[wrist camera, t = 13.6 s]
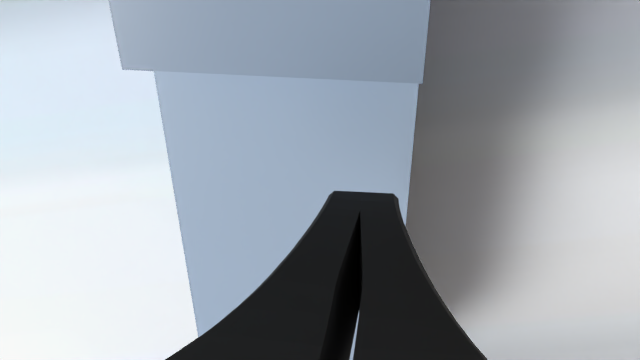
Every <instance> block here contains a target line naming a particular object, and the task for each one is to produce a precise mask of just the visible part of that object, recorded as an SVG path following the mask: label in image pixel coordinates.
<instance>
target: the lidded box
mask: <svg viewBox="0 0 640 360" xmlns="http://www.w3.org/2000/svg"><path fill="white" fill-rule="evenodd" d="M430 1H431V0H109V5H110V10H111V15H112V20H113V26H114V31H115V36H116V41H117V46H118V51H119V56H120V61H121V66H122V70H142V71H154V75H155V81H156V87H157V93H158V99H159V105H160V111H161V117H162V123H163V129H164V135H165V141H166V147H167V153H168V159H169V165H170V171H171V176H172V182H173V188H174V194H175V200H176V206H177V212H178V218H179V224H180V230H181V236H182V242H183V248H184V254H185V260H186V266H187V272H188V278H189V284H190V290H191V296H192V302H193V308H194V313H195V319H196V325H197V331H198V337H200V336H201V335H203V334H204V333H205V332H207V331H208V330H209V329H211V328H212V327H213V326H215V325H216V324H217V323H218V322H220V321H221V320H222V319H223V318H224V317H226V316H227V315H228V314H229V313H230V312H232V311H233V310H234V309H235V308H236V307H238V306H239V305H240V304H241V303H242V302H243V301H244V300H245V299H246V298H247V297H248V296H250V295H251V294H252V293H253V292H254V291H255V290H256V289H257V288H258V287H259V286H260V285H261V284H262V283H263V282H264V281H265V280H266V279H267V278H268V277H269V276H270V274H271V273H272V272H273V271H274V270H275V269H276V268H277V266H278V265H279V264H280V263H281V262H282V261H283V260H284V258H285V257H286V256H287V255H288V254H289V253H290V251H291V250H292V249H293V248H294V246H295V245H296V244H297V243H298V241H299V240H300V239H301V237H302V236H303V235H304V233H305V232H306V231H307V229H308V228H309V227H310V225H311V224H312V222H313V221H314V219H315V218H316V216H317V215H318V213H319V212H320V210H321V208H322V207H323V205H324V203H325V202H326V200H327V198H328V196H329V195H330V194H331V193H332V192H333V191H353V192H374V193H393V194H394V195H395V196H396V197H397V198H398V200H399V207H400V211H401V215H402V218H403V222H404V224H405V227H406V217H407V207H408V196H409V185H410V174H411V163H412V153H413V142H414V131H415V120H416V109H417V98H418V88H419V84H423V74H424V64H425V54H426V43H427V33H428V22H429V12H430ZM358 319H359V313H358V318H357V323H356V328H355V334H354V339H353V344H352V349H351V354H350V359H349V360H353V356H354V349H355V341H356V334H357V326H358Z"/></svg>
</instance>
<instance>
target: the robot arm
mask: <svg viewBox="0 0 640 360" xmlns="http://www.w3.org/2000/svg"><path fill="white" fill-rule="evenodd" d="M358 313H359V319H358V326H357V334H356V341H355V349H354V356H353V360H487V358H486V357H485V356H484V355H483V354H482V353H481V352H480V350H479V349H478V348H477V347H476V346H475V345H474V344H473V342H472V341H471V340H470V338H469V337H468V336H467V335H466V333H465V332H464V331H463V329H462V328H461V327H460V325H459V324H458V323H457V321H456V320H455V318H454V317H453V315H452V314H451V313H450V311H449V310H448V308H447V307H446V305H445V304H444V302H443V301H442V299H441V297H440V296H439V294H438V293H437V291H436V289H435V288H434V286H433V284H432V282H431V281H430V279H429V277H428V275H427V273H426V272H425V270H424V268H423V266H422V264H421V262H420V260H419V258H418V255H417V253H416V251H415V249H414V247H413V245H412V243H411V240H410V238H409V235H408V233H407V230H406V227H405V224H404V222H403V218H402V215H401V211H400V207H399V200H398V198H397V197H396V196H395V195H394V194H393V193H374V192H353V191H333V192H332V193H331V194H330V195H329V196H328V198H327V200H326V202H325V203H324V205H323V207H322V208H321V210H320V212H319V213H318V215H317V216H316V218H315V219H314V221H313V222H312V224H311V225H310V227H309V228H308V229H307V231H306V232H305V233H304V235H303V236H302V237H301V239H300V240H299V241H298V243H297V244H296V245H295V246H294V248H293V249H292V250H291V251H290V253H289V254H288V255H287V256H286V257H285V258H284V260H283V261H282V262H281V263H280V264H279V265H278V266H277V268H276V269H275V270H274V271H273V272H272V273H271V274H270V276H269V277H268V278H267V279H266V280H265V281H264V282H263V283H262V284H261V285H260V286H259V287H258V288H257V289H256V290H255V291H254V292H253V293H252V294H251V295H250V296H248V297H247V298H246V299H245V300H244V301H243V302H242V303H241V304H240V305H239V306H238V307H236V308H235V309H234V310H233V311H232V312H230V313H229V314H228V315H227V316H226V317H224V318H223V319H222V320H221V321H220V322H218V323H217V324H216V325H215V326H213V327H212V328H211V329H209V330H208V331H207V332H205V333H204V334H203V335H201V336H200V337H198V338H197V339H196V340H194V341H193V342H191V343H190V344H188V345H187V346H185V347H184V348H182V349H181V350H179V351H178V352H176V353H175V354H173V355H172V356H170V357H169V358H167V359H165V360H349V359H350V354H351V349H352V344H353V339H354V334H355V328H356V323H357V318H358Z"/></svg>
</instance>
